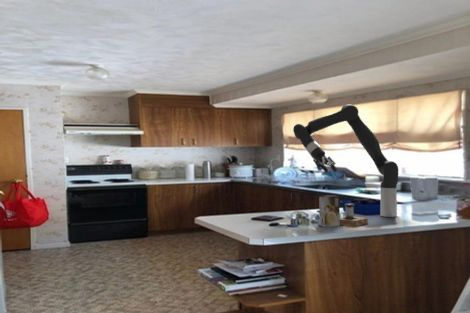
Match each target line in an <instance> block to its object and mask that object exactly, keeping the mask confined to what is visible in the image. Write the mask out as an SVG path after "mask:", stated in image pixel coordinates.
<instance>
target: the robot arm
mask: <svg viewBox="0 0 470 313" xmlns="http://www.w3.org/2000/svg"><path fill="white" fill-rule="evenodd" d="M344 122H346V123H347V124H348V125H349V126H350V127H351V129H352V131H353V133H354V135H355V136H356V138H357V139H358V141H359V143H360V145H361V146H362V148H363V149H364V150H365V151H366V152H367V154H368V155H369V157H370V158H371V160H372V162H374V165H375V166H376V169H377V171H378V173H380V175H381V176H383V179H382V182H380V209H379V210H380V216H381V217H385V218H387V217H388V218H391V217H392V218H394V217H397V216H398V200H397V191H398V190H397V185H398V183H399V166H398V164H397V163H396V162H394V161H390V160H388V159H387V158H386V156H385V155H384V153H383V152H382V149H381V145H380V142H379V140H378V138H377V136H375V134H374V132H373V131H372V130H371V129H370V128H369V127H368V126H367V125H366V124H365V123H364V122H363V120H362V119H361V118H360V115H359V109H358V107H356V105H354V104H349V103H348V104H344V105H343V106H342V107H341V109H340V110H338V111H337V112H335V113H331V114H329V115H324V116H321V117H318V118H316V119H312V120H310V121H309V122H308V123H307V125H305V126H304V125H303V124H301V123H297V124H295V125H294V126H293V130H292V131H293V133H294V137H295V139H297V140H300V142H301V144H302V145H303V147H304V148H305V149H306V151H307V154H308V155H310V157H311V158H312V159H313V160H312V161H313V162H314V163H315V165H316V166H317V168H320V169H322V170H323V171H324V173H328V172H329V169H328V167H330V168H331V170H332V171H333V172H334V173H336V172H337V171H338V168H337V167H336V162H335V160H333V159H332V157H331V156H328V157H327V156H326V152H325V150H324V149H323V148H322V147H321V145H320V144H319V143H318V142H316V140H315V139H314V138H313V137H312V136H311V135H313V134H314V133H316V132H319V131H321V130H324V129H326V128H328V127H331V126H334V125H336V124H339V123H344Z"/></svg>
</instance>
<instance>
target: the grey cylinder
mask: <svg viewBox="0 0 470 313" xmlns="http://www.w3.org/2000/svg"><path fill="white" fill-rule="evenodd" d="M354 206H355V203H344V207H345V216H346V219H351V220H352V219H353V216H354Z"/></svg>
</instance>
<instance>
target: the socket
mask: <svg viewBox="0 0 470 313" xmlns="http://www.w3.org/2000/svg"><path fill="white" fill-rule="evenodd" d="M342 216H343V218H341V219H340V226H345V227H353V228H354V227H359V226H363V225H368V224H369V218H368V217H362V216H361V217H360V216H355V215H353V219H352V220H351V219H346V215H342Z"/></svg>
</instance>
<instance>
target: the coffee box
mask: <svg viewBox="0 0 470 313" xmlns="http://www.w3.org/2000/svg"><path fill="white" fill-rule="evenodd" d="M318 201H319V202H318V204H319V205H318V206H319V207H318V208H319V210H318V211H319V214H318V216H319V222H318V224H319V226H321V227H324V228H328V227H329V228H330V227H340V226H341V225H340V217H341V214H340V212H341V210H340V196H339V195H335V194H334V195H333V194H331V195H319V196H318Z"/></svg>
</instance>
